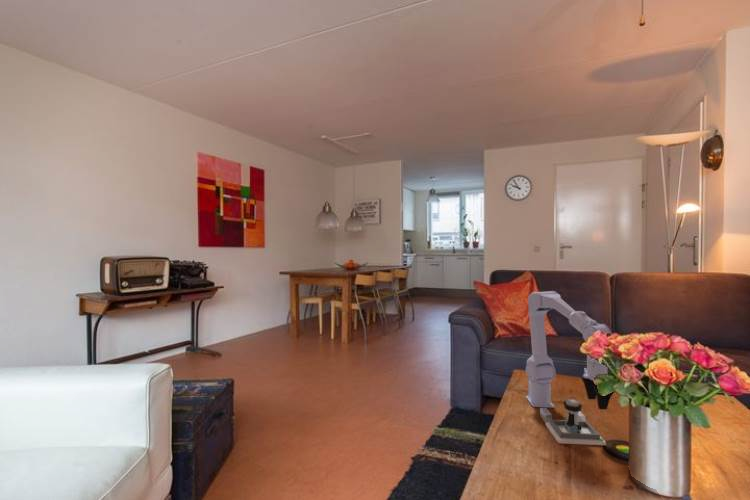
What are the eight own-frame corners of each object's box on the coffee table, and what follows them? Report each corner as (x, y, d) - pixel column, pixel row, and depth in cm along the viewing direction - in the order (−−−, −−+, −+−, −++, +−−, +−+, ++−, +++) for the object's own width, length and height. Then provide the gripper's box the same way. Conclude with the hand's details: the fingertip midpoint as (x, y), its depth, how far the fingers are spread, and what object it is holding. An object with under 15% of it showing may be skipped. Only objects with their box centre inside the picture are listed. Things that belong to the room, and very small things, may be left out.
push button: (589, 435, 122) (589, 404, 122) (576, 438, 120) (576, 407, 120) (572, 426, 128) (572, 396, 128) (559, 428, 127) (559, 399, 126)
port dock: (545, 425, 131) (545, 417, 131) (588, 426, 130) (588, 419, 130) (558, 443, 120) (558, 435, 119) (605, 445, 118) (605, 437, 118)
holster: (540, 415, 138) (540, 407, 138) (578, 417, 137) (578, 408, 137) (546, 423, 132) (546, 415, 132) (585, 425, 131) (585, 416, 131)
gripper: (574, 355, 131) (574, 394, 131) (594, 369, 117) (594, 413, 117) (596, 355, 130) (596, 395, 131) (618, 369, 116) (618, 414, 116)
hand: (597, 403), depth 124 cm, fingers open, 7 cm apart
